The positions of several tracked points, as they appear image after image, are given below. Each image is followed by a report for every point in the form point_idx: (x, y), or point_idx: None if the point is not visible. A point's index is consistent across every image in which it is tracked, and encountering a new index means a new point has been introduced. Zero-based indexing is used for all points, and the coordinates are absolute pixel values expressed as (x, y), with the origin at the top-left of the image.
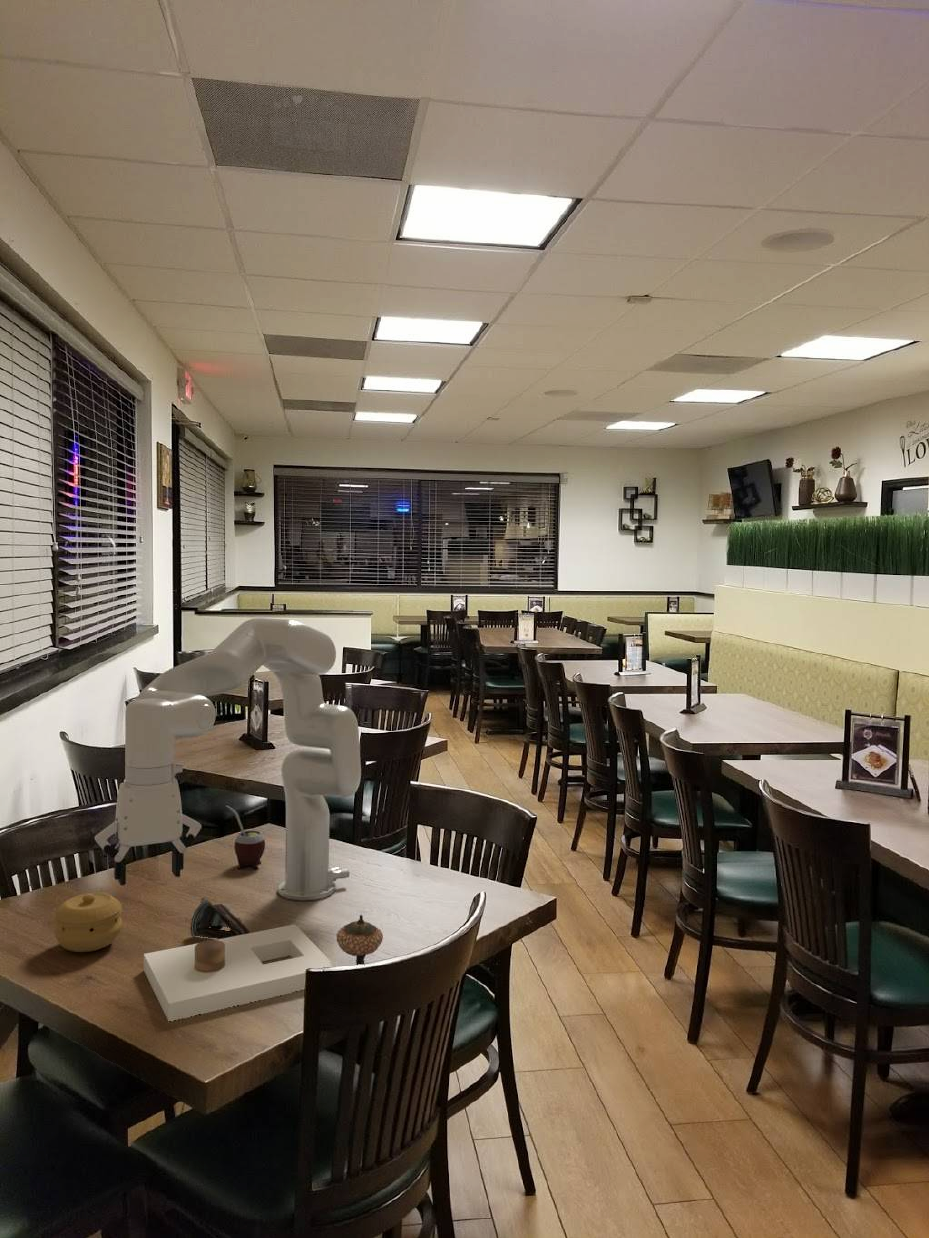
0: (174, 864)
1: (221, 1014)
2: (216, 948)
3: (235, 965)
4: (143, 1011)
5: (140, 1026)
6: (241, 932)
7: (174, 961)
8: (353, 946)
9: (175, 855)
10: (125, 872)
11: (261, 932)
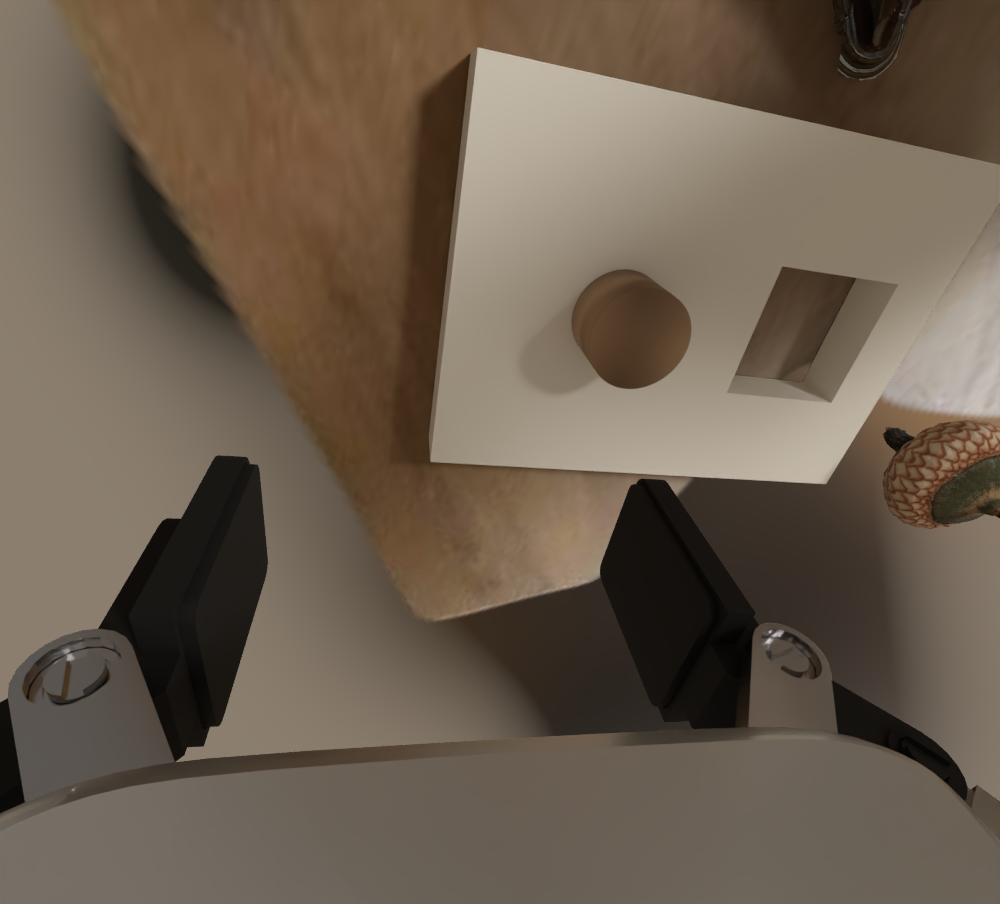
0: (635, 599)
1: None
2: (646, 369)
3: None
4: (388, 354)
5: (363, 420)
6: (890, 42)
7: (547, 210)
8: (893, 513)
9: (656, 693)
10: (242, 642)
11: (902, 160)
